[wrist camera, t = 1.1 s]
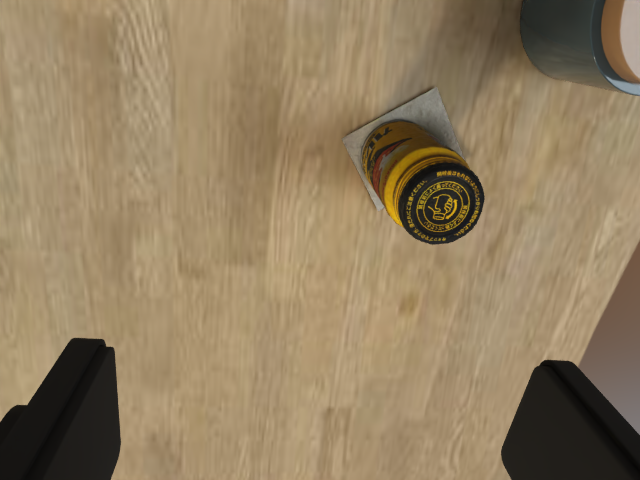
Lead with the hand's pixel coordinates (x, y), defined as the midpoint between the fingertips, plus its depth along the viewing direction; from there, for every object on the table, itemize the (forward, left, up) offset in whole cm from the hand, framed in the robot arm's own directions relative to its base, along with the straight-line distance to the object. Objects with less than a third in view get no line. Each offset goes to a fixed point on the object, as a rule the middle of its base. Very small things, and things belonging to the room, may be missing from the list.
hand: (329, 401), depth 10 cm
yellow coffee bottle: (+1, +10, -29) cm, 31 cm away
